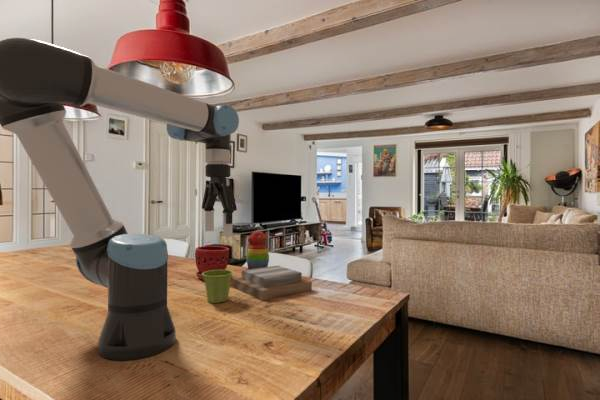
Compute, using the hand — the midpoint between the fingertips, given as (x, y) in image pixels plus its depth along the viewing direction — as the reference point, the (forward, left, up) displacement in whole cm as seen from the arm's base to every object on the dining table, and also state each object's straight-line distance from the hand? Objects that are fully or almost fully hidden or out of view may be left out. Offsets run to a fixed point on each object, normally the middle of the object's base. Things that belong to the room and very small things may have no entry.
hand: (218, 233), depth 107 cm
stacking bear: (+26, -29, -21) cm, 44 cm away
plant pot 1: (+30, -11, -21) cm, 38 cm away
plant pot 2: (0, 0, -21) cm, 21 cm away
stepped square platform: (+2, -21, -21) cm, 30 cm away
